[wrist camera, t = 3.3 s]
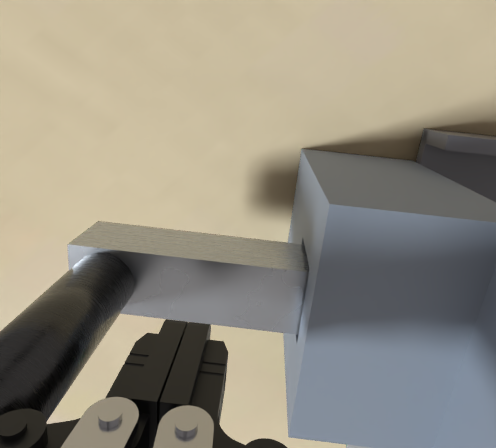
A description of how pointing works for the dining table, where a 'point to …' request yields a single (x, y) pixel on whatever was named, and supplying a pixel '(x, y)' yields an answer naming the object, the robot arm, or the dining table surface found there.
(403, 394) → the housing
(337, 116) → the dining table surface
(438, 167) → the tray
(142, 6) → the dining table surface
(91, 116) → the dining table surface
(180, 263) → the grey lever black handle
